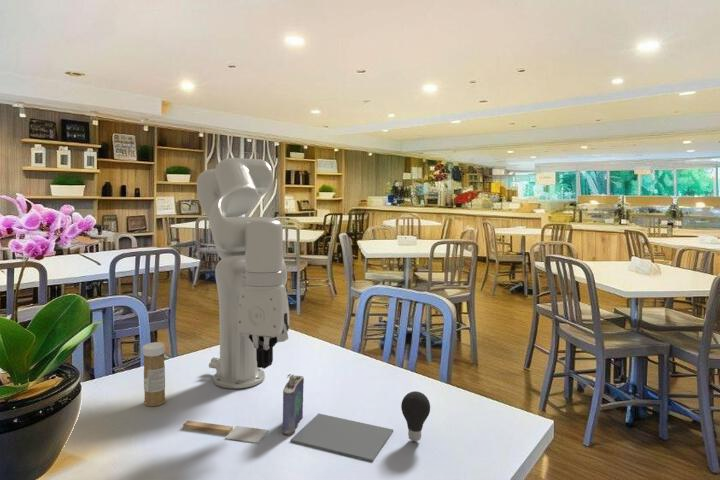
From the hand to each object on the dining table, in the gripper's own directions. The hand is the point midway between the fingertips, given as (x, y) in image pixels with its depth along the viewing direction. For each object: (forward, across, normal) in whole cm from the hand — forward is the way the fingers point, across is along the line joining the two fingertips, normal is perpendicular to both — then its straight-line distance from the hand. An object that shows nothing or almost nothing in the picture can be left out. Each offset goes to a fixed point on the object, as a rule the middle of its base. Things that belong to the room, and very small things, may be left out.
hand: (264, 366), depth 101 cm
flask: (+12, +6, +1) cm, 14 cm away
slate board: (+12, +18, +1) cm, 21 cm away
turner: (+12, -4, -7) cm, 14 cm away
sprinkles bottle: (+11, -27, -3) cm, 29 cm away
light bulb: (+12, +31, +5) cm, 34 cm away
